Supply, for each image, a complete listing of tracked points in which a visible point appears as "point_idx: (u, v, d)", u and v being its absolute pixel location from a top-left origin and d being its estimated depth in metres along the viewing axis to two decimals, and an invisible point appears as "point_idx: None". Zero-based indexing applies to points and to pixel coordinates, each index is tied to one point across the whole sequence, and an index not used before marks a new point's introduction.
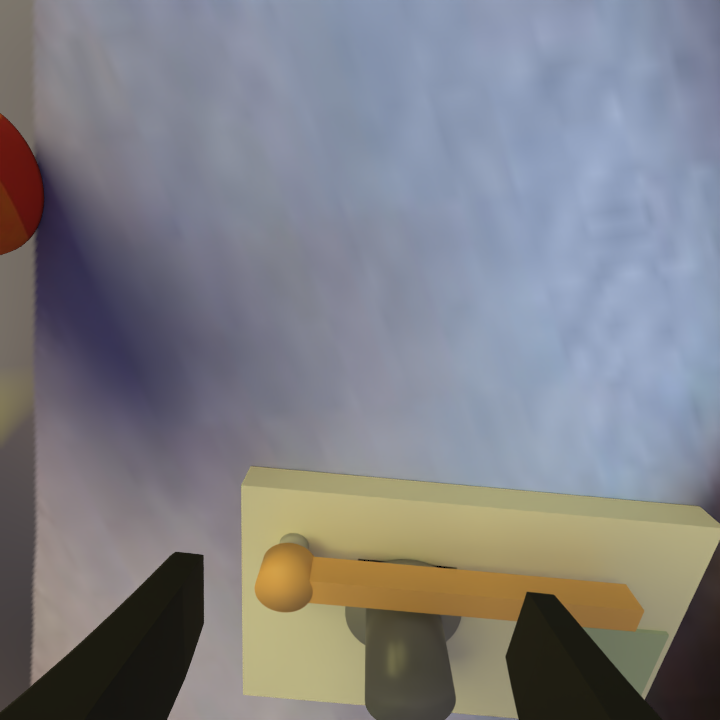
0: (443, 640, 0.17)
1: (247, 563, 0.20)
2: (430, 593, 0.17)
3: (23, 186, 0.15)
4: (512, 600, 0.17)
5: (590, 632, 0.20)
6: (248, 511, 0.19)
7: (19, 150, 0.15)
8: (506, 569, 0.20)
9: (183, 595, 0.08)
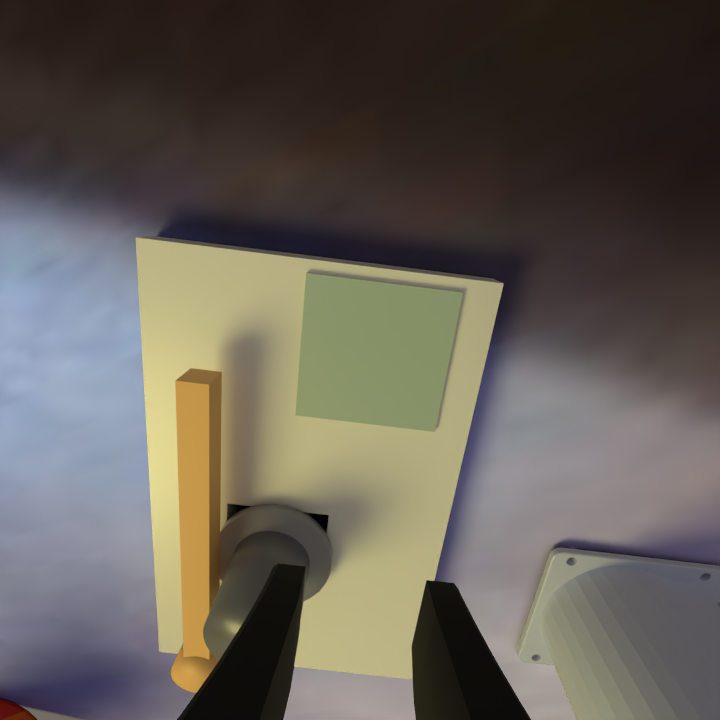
0: (238, 567, 0.17)
1: None
2: (183, 574, 0.17)
3: None
4: (182, 507, 0.16)
5: (306, 369, 0.17)
6: None
7: None
8: (228, 457, 0.18)
9: (297, 608, 0.08)
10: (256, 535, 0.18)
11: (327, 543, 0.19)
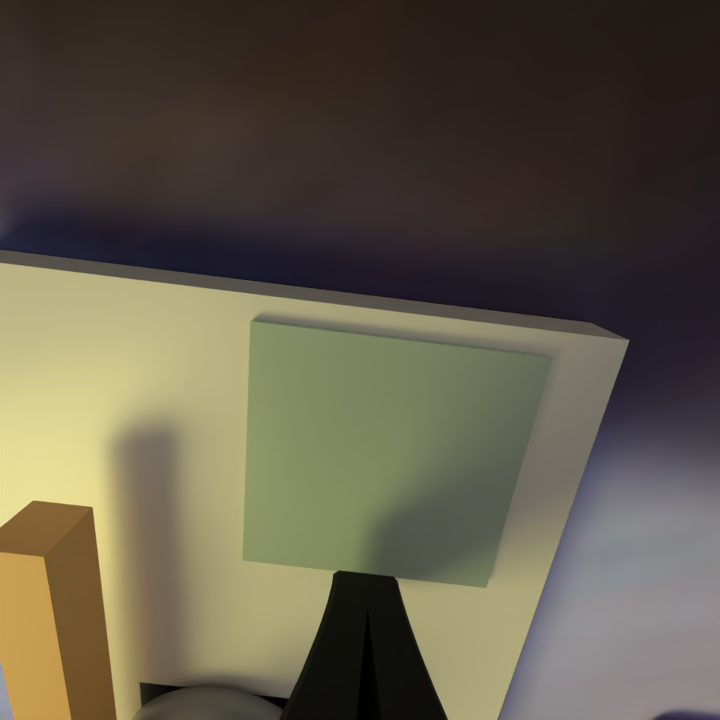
0: None
1: None
2: None
3: None
4: None
5: (258, 488, 0.09)
6: None
7: None
8: (137, 616, 0.11)
9: None
10: None
11: None
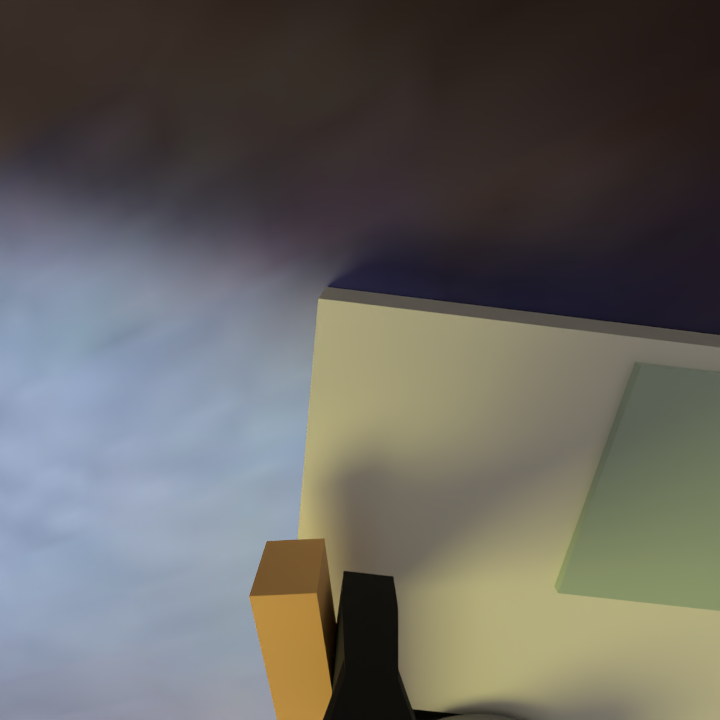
0: None
1: None
2: None
3: None
4: None
5: (595, 524, 0.09)
6: None
7: None
8: (421, 644, 0.11)
9: None
10: None
11: None
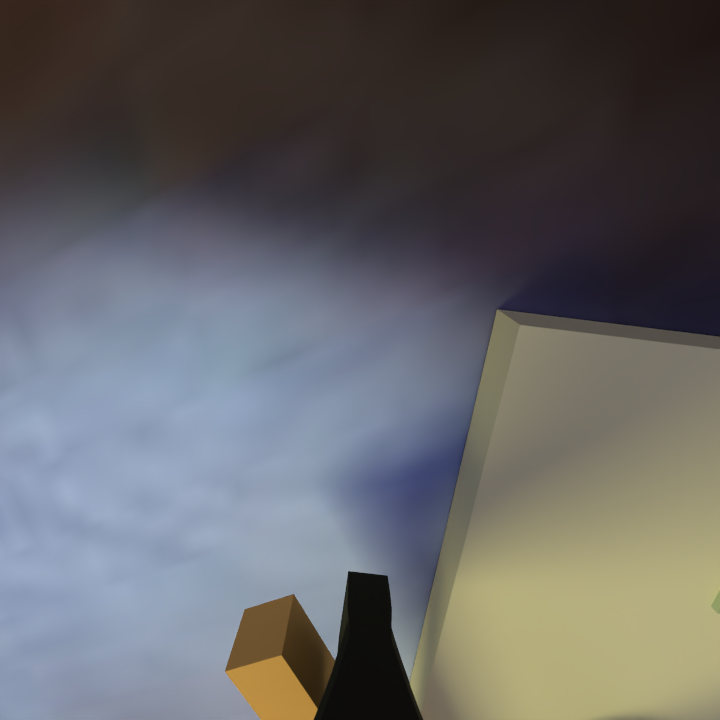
0: None
1: None
2: None
3: None
4: None
5: None
6: None
7: None
8: (564, 663, 0.11)
9: None
10: None
11: None
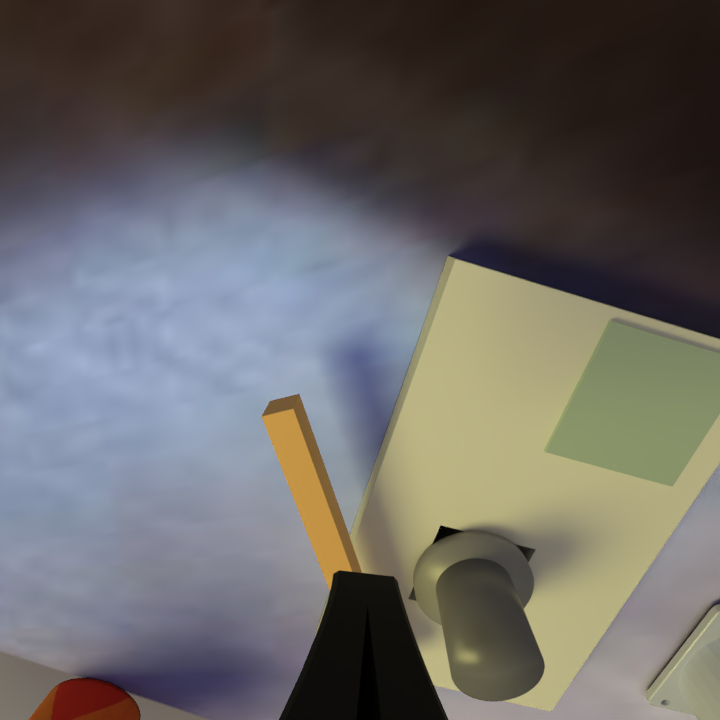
0: (475, 595, 0.17)
1: None
2: None
3: (88, 698, 0.24)
4: (311, 533, 0.16)
5: (574, 411, 0.17)
6: None
7: (71, 690, 0.24)
8: (458, 481, 0.18)
9: None
10: (473, 562, 0.18)
11: None
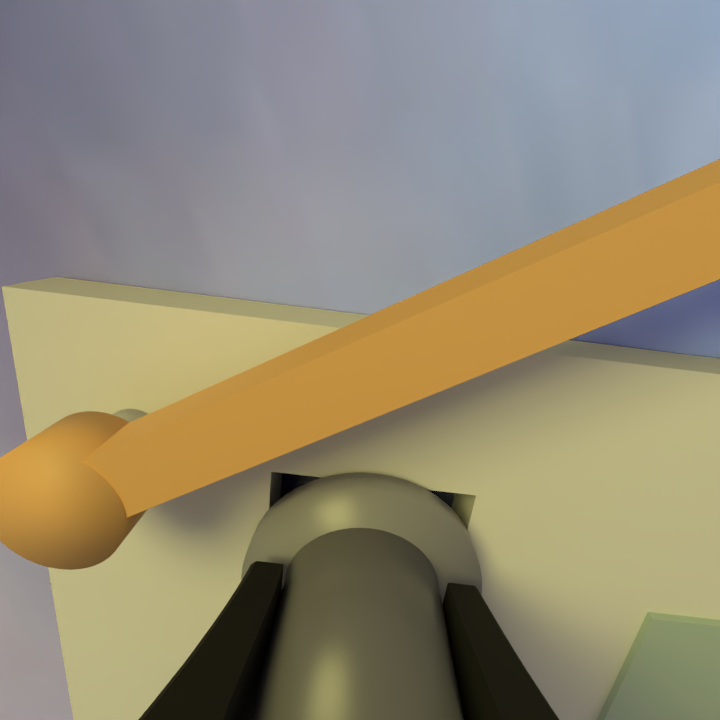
0: (446, 647, 0.07)
1: None
2: (374, 342, 0.06)
3: None
4: (617, 236, 0.05)
5: None
6: (28, 353, 0.09)
7: None
8: (576, 503, 0.10)
9: (272, 605, 0.08)
10: (437, 582, 0.09)
11: None
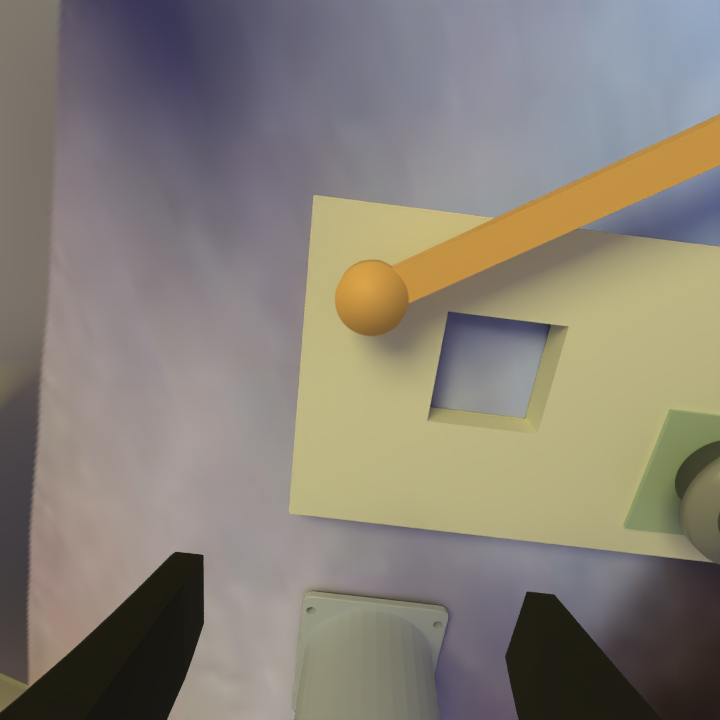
0: None
1: (311, 316, 0.16)
2: (548, 202, 0.12)
3: None
4: (664, 149, 0.12)
5: None
6: (319, 235, 0.15)
7: None
8: (627, 333, 0.16)
9: (183, 595, 0.08)
10: None
11: None
